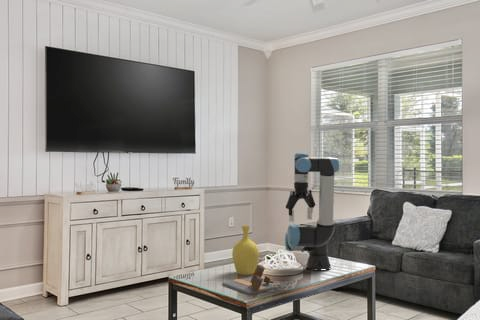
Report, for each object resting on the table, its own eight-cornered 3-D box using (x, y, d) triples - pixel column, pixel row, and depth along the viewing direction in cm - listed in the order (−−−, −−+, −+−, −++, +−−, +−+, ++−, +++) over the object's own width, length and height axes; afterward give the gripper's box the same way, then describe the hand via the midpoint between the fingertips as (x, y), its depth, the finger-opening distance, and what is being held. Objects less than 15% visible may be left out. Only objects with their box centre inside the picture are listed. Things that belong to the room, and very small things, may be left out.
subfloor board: (248, 279, 256) (248, 277, 256) (276, 288, 237) (276, 286, 237) (222, 284, 246) (222, 282, 246) (249, 294, 226) (249, 291, 226)
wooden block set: (259, 296, 227) (266, 278, 225) (243, 287, 229) (251, 269, 228) (268, 285, 244) (275, 268, 242) (254, 278, 246) (261, 261, 245)
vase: (227, 274, 270) (227, 226, 270) (240, 268, 284) (240, 223, 284) (251, 277, 262) (251, 228, 263) (263, 271, 276) (263, 225, 277)
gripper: (289, 183, 237) (288, 223, 238) (322, 181, 252) (321, 219, 253) (279, 182, 243) (278, 221, 244) (312, 180, 258) (311, 217, 259)
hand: (300, 220), depth 248 cm, fingers open, 13 cm apart
